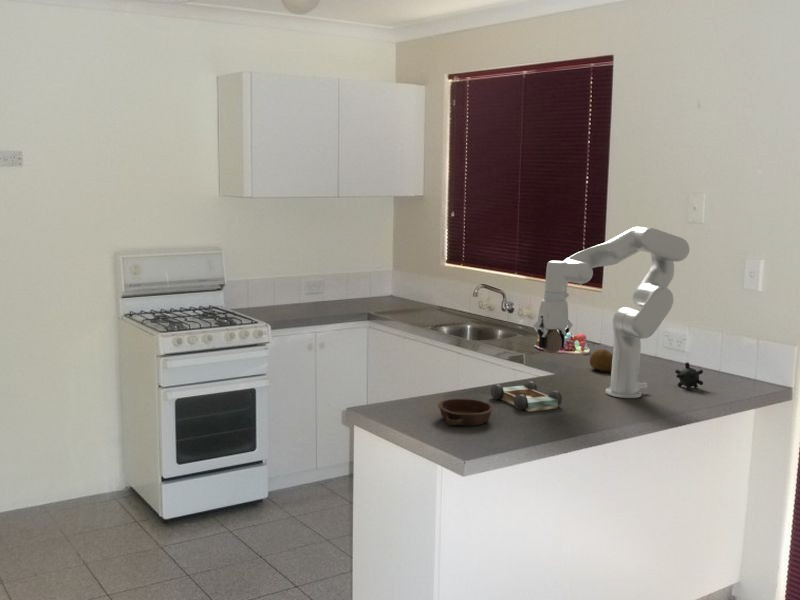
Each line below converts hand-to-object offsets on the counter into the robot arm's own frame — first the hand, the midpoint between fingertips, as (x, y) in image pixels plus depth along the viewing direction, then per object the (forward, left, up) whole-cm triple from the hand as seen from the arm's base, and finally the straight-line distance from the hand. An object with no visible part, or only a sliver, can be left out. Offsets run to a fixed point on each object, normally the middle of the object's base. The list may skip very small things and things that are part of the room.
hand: (551, 347), depth 302 cm
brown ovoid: (0, 0, -2) cm, 2 cm away
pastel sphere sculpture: (-60, -69, -19) cm, 94 cm away
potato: (-48, -27, -18) cm, 58 cm away
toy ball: (-61, +6, -18) cm, 64 cm away
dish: (+42, +13, -19) cm, 48 cm away
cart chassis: (+11, +2, -18) cm, 22 cm away
